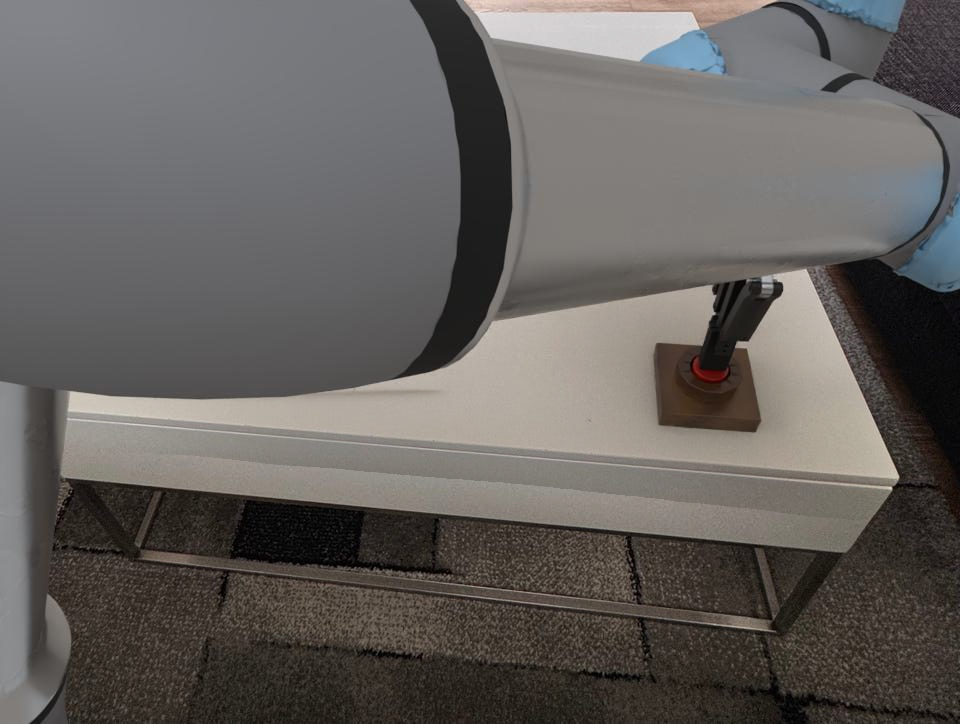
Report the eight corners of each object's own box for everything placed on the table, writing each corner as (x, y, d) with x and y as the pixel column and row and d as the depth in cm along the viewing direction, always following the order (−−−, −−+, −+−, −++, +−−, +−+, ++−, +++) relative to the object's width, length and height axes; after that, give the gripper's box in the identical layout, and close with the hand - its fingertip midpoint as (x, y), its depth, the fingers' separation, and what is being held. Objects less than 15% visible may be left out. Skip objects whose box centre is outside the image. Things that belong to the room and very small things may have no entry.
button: (691, 389, 72) (695, 378, 71) (688, 363, 75) (691, 352, 73) (726, 391, 72) (730, 380, 71) (722, 365, 74) (726, 354, 73)
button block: (658, 425, 73) (665, 402, 70) (653, 355, 79) (659, 331, 76) (755, 432, 72) (766, 409, 69) (742, 361, 78) (751, 336, 75)
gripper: (722, 124, 59) (671, 318, 77) (743, 217, 50) (680, 411, 68) (813, 127, 58) (740, 322, 76) (850, 222, 50) (758, 417, 67)
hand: (712, 364), depth 72 cm, fingers closed
